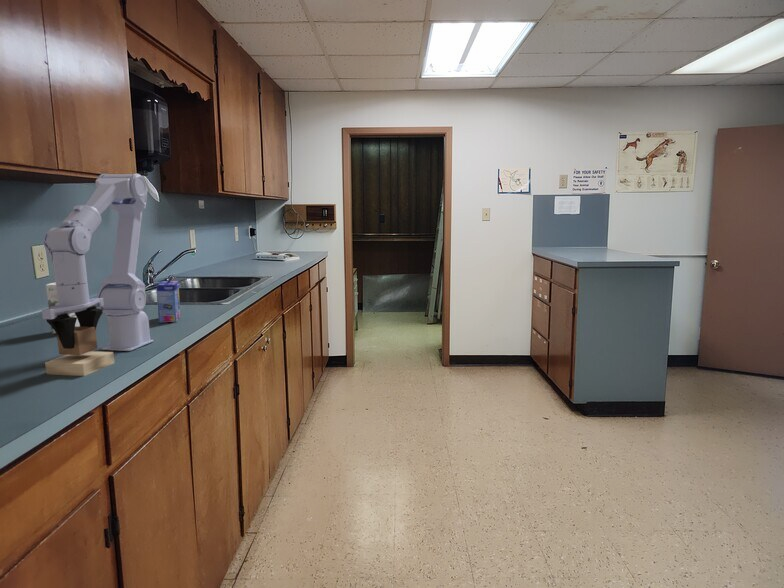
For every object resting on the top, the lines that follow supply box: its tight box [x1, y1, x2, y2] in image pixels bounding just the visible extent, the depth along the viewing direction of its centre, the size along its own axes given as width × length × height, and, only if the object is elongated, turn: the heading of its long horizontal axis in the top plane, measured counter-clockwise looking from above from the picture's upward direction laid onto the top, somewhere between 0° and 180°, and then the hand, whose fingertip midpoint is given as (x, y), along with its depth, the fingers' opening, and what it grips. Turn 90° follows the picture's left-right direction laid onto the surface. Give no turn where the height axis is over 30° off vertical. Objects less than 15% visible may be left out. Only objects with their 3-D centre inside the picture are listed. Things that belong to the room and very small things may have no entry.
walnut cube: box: [56, 326, 98, 356], centre depth 105 cm, size 5×5×5 cm
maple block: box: [44, 350, 115, 377], centre depth 106 cm, size 9×9×3 cm
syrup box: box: [45, 281, 80, 335], centre depth 137 cm, size 6×6×14 cm
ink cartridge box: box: [156, 274, 181, 324], centre depth 153 cm, size 10×6×14 cm, turn 17°
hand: (79, 344), depth 105 cm, fingers closed on walnut cube, 5 cm apart
